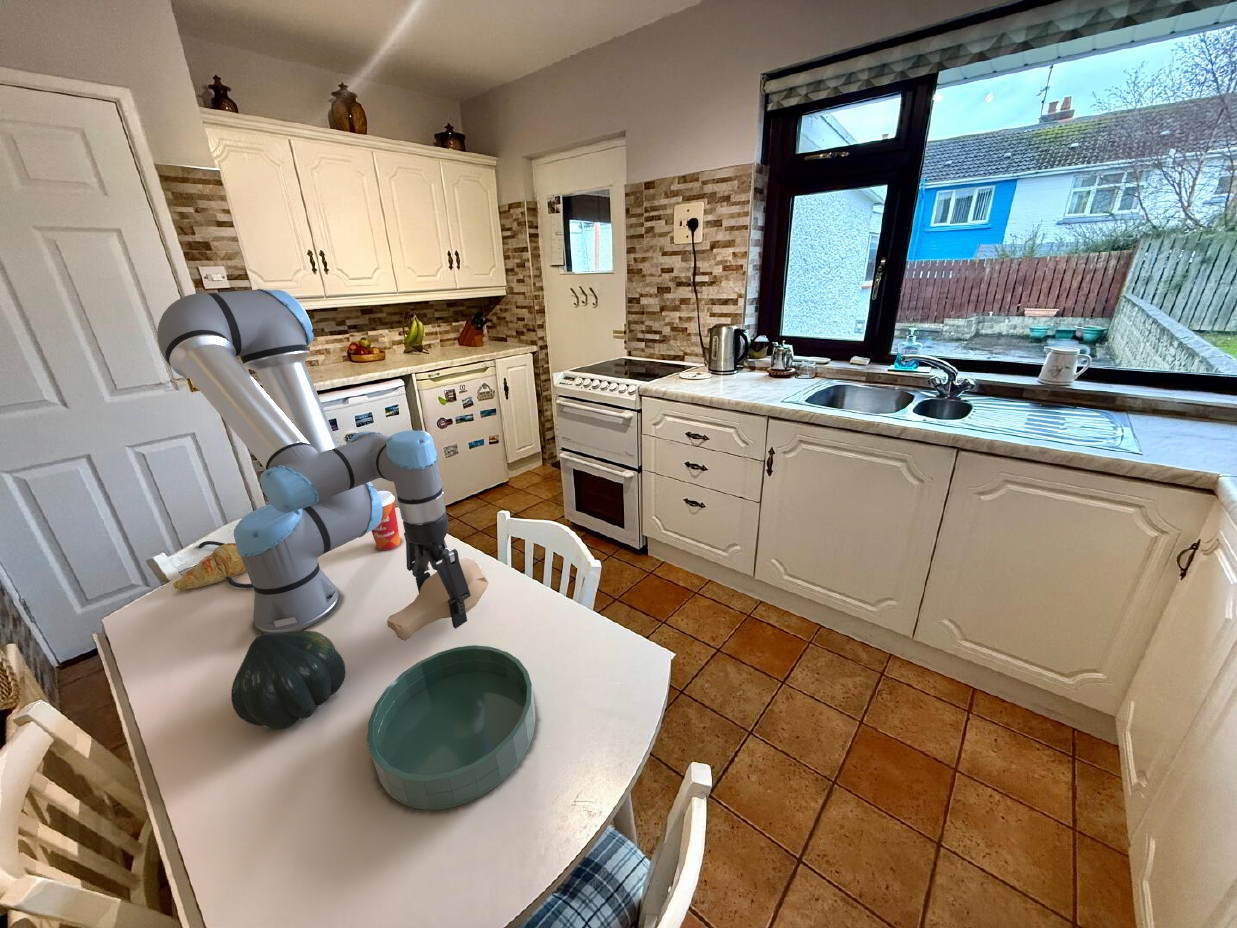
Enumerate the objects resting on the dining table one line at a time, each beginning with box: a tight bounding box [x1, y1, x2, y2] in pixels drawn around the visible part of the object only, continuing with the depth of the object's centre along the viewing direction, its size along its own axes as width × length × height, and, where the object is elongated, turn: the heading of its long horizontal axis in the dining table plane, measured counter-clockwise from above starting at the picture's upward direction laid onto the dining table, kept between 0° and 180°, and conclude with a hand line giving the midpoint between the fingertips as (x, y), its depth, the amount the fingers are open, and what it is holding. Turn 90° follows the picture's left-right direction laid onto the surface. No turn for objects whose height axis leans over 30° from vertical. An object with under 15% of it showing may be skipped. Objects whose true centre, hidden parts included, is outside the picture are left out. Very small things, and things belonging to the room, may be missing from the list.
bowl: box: [366, 644, 536, 811], centre depth 74 cm, size 24×24×6 cm
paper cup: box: [371, 490, 401, 551], centre depth 123 cm, size 8×8×14 cm
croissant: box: [172, 542, 247, 591], centre depth 116 cm, size 21×10×8 cm, turn 148°
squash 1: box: [230, 630, 347, 731], centre depth 79 cm, size 14×15×15 cm
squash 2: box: [386, 558, 489, 642], centre depth 95 cm, size 11×20×9 cm, turn 140°
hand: (443, 612), depth 97 cm, fingers closed on squash 2, 10 cm apart
